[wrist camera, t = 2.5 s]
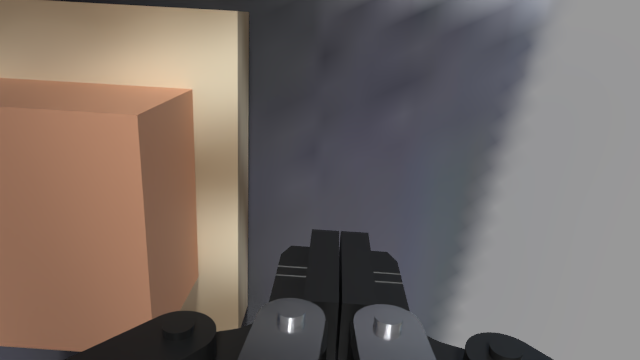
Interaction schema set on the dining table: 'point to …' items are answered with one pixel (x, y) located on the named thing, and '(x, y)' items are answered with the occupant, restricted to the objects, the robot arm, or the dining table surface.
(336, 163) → the dining table surface
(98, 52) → the board
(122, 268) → the carton
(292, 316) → the robot arm
